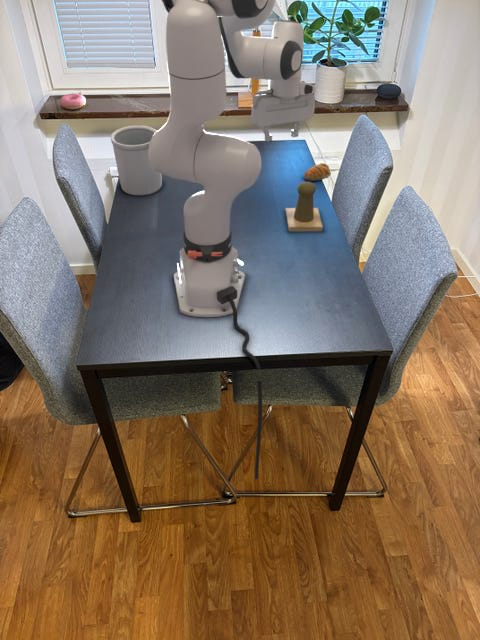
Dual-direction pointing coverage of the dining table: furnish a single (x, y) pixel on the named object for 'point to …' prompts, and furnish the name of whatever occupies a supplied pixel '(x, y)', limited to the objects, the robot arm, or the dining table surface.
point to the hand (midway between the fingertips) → (281, 138)
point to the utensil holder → (135, 160)
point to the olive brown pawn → (305, 202)
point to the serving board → (303, 226)
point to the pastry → (317, 172)
